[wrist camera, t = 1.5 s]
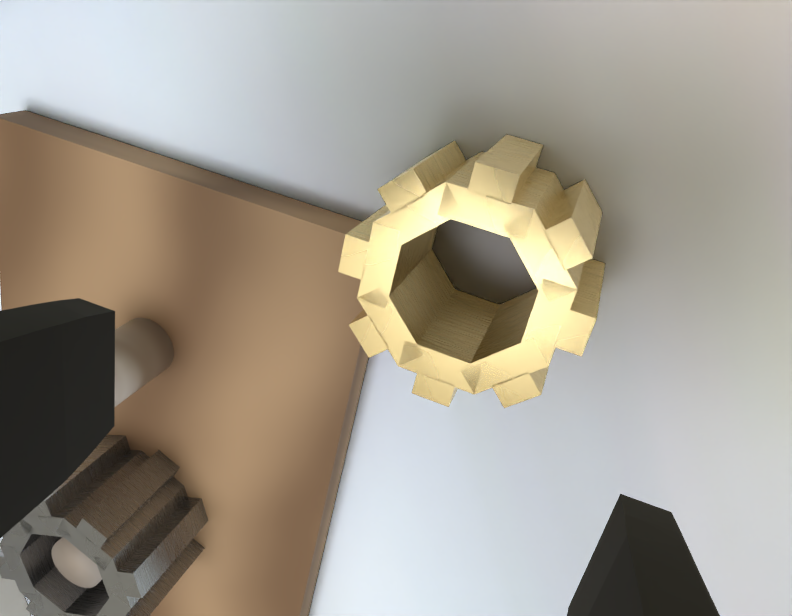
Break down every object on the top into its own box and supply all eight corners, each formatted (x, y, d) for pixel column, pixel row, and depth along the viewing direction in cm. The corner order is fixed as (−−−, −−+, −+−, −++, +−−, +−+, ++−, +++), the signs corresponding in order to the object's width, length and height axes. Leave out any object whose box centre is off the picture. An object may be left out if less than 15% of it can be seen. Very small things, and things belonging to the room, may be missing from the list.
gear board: (397, 233, 18) (335, 288, 15) (296, 666, 26) (240, 771, 23) (25, 110, 21) (-109, 131, 17) (36, 542, 29) (-53, 620, 25)
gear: (183, 438, 22) (108, 506, 19) (225, 575, 24) (163, 658, 21) (51, 432, 24) (-36, 494, 21) (99, 560, 26) (26, 633, 23)
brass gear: (640, 173, 16) (639, 211, 13) (563, 372, 18) (547, 443, 15) (416, 108, 17) (365, 128, 14) (372, 304, 19) (320, 358, 16)
